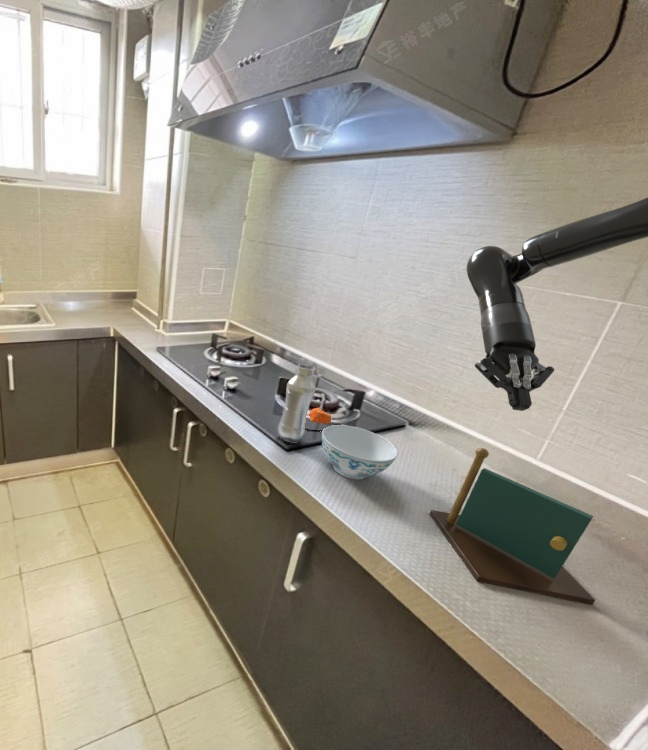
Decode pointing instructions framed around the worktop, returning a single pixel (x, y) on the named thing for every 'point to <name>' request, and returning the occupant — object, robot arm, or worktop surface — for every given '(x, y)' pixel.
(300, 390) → the plastic bottle
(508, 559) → the door stand
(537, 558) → the door
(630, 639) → the worktop surface
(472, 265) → the robot arm
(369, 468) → the chinaware
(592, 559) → the worktop surface
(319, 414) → the rock
